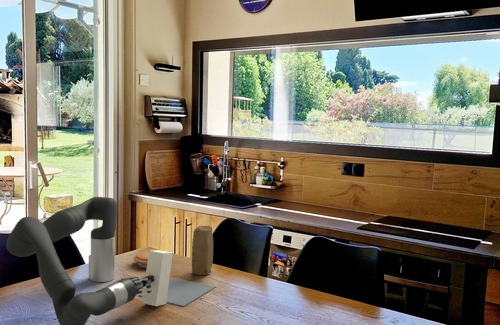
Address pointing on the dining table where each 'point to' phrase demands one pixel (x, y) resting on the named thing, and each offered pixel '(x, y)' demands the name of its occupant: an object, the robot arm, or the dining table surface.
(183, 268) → the dining table surface
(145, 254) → the pie
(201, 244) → the tan textured post
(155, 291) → the tall cream block
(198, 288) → the mat
